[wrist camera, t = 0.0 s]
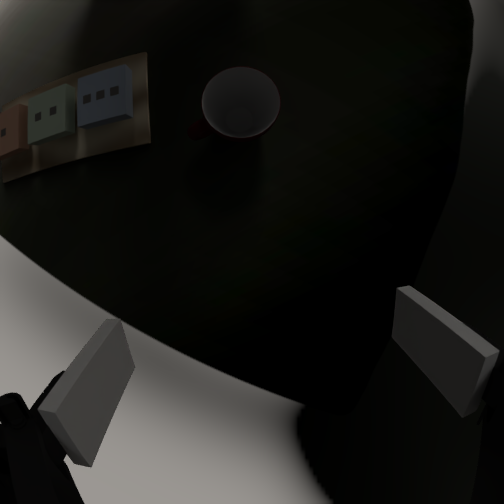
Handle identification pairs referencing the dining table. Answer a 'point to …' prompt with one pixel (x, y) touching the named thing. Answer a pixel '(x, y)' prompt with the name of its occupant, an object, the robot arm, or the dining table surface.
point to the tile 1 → (13, 131)
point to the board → (83, 139)
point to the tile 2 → (51, 115)
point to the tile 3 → (105, 97)
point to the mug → (237, 105)
